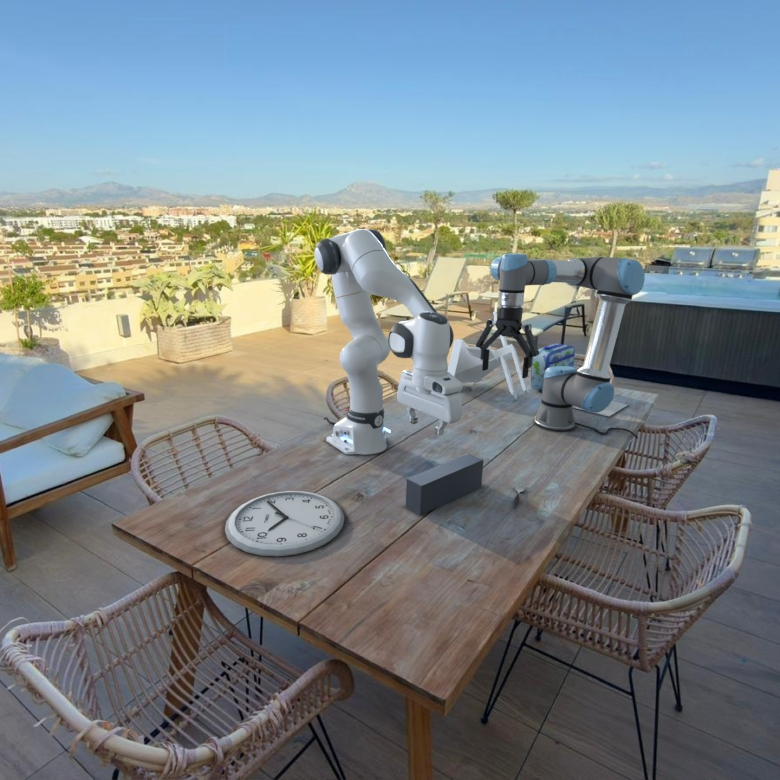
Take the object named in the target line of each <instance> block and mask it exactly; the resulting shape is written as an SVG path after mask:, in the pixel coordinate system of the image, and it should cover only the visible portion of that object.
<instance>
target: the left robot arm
mask: <svg viewBox="0 0 780 780" xmlns="http://www.w3.org/2000/svg"><path fill="white" fill-rule="evenodd" d="M313 253H314V254H313V255H314V262H315V265H316V266H317V269H318V270H319V271H320V272H321V273H323V275H328V276H329V275H330V276H331V283H332V290H333V294H334V298H335V303H336V306H337V310H338V314H339V317H340V318H339V319H340V321H341V323H342V324H343V325H344V326H345V327H346V329H347V330H348V331H349V333H350V336H351V338H352V340H350V341H349V342H348V343H346V344H345V345H344V347H343V348H342V349H341V351H340V353H339V363H340V366H341V367H342V369H343V371H345V373H346V376H347V380H348V385H349V406H348V407H344V412H347V413H346V416H344V417H343V418H341V419H338V421H337V422H334V421H332V420H331V421H330V419H329V417H327V416H325V417H323V420H324V421H325V420H326V422H327V423H328V424H330V425H333V428H332V433H331V434H329V435H328V436H327V437H326V438H325V441H326V442H327V443H328V444H330V446H333V447H334V448H336V449H337V450H339V451H340V452H342V453H343V454H345V455H347V456H348V455H350V456H352V455H363V456H365V455H366V456H367V455H376V454H379V453H382V452H384V451H386V449H387V447H388V445H387V444H388V443H387V436H386V434H385V432H387V433H389V434H391V433H392V432H391V429H389V428H387V427H385V423H384V422H385V421H384V419H385V408H384V405H383V403H384V401H383V400H384V386H383V384H382V382H380V378H379V373H378V372H379V371H378V369H379V368H378V367H379V365H380V364H382V363H383V362H384V361H386V359H388V357H389V355H390V353H391V352H392V354H393V355H394V356H395V357H397V358H401V359H411V360H412V361H413V363H412V371H410V370H408V369H405V370H403V371H401V372H400V378H399V379H400V380H399V382H398V386H397V387H398V388H397V393H396V399H397V401H398V403H399V404H400V405H403V406H405V407H406V412H407V414H408V417H409V420H408V421H409V422H408V423H410V424H413V425H415V424H418V423H419V416H417V415H416V411H417V412H420V413H422V414H425V415H427V416H430V417H432V418H434V419H437V420H438V424H439V425H438V426H436V427H434V434H435V435H437V436H439V437H440V436H443V435H444V432H445V428H446V426H447V425H449V424H450V425H451V424H455V423H457V422H459V421H460V420H461V419H462V414H463V396H462V394H461V391H462V390H463V384H464V383H461V382H460V381H459V380H458V379H456V378H455V377H454V376H453V375H452V374H451V373H450V372H448V366H449V363H448V356H449V353H450V349H451V347H452V346H453V344H454V339H455V338H454V337H455V336H454V331H453V327H452V325H451V324H450V321H449V319H448V318H447V317H446V316H445V315H443V314H441V313H439V312H438V311H437V310H436V308H434V306H433V305H432V303H431V302H430V300H429V299H428V298H427V297H426V295H425V294H424V292H423V291H422V290H421V289H420V287H419V286H418V285H417V283H416V282H415V281H414V280H413V279H412V278H411V277H410V276H408V274H406V273H404V272H403V271H402V270H401V269H400V268H399V267H398V266H397V265H396V264H395V262H394V261H393V260H392V259H391V257H390V255H389V254H388V252H387V246H386V241H385V238H384V236H383V234H382V233H381V231H379V230H378V229H374V228H373V229H372V228H368V229H367V228H366V229H365V228H358V229H355V230H353V231H348V232H345V233H342V234H338V235H335V236H332V237H329V238H327V237H326V238H324V239H323V238H322V239H321V240H319V241H318V242H316V244H315V246H314V250H313ZM371 295H373V296H375V297H376V296H377V297H382V298H387V299H390V300H394V301H396V302H399V303H401V304H402V305H403V306H404V307H406V309H407V310H408V312H409V313H410V315H412V317H413V318H411V319H408V320H403V321H399V322H396V323H394V324H393V325H392V327H391V328H390V329H389V332H388V336H387V335H386V334H385V333H384V331H383V329H382V327H381V324H380V322H379V320H378V317H377V316H376V313H375V310H374V305H373V301H372V298H371Z"/></svg>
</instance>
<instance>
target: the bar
mask: <svg viewBox="0 0 780 780" xmlns="http://www.w3.org/2000/svg"><path fill="white" fill-rule="evenodd" d="M483 472H484V459H483V458H481V457H478V456H476V455H473V454H471V453H465V454H464V455H462V456H459V457H457V458H454V459H452V460H451V459H450V460H449V461H446V462H444V463H442V464H439V465H437V466H434V467H431V468H429V469H427V470H424V471H422V472H419V473H417V474H415V475H411V476H409V477H407V478H406V484H405V485H406V486H405V487H406V489H405V491H406V492H405V508H406V509H409V510H410V511H412V512H414V513H416V514H417V515H419V516H422V515H424V514H426V513H428V512H431V511H433V510H435V509H437V508H439V507H441V506H443V505H445V504H447V503H449V502H451V501H454V500H455V499H457V498H460V497H462V496H464V495H466V494H468V493H470V492H473V491H476V490H477V489H479V488H481V487H482V485H483Z"/></svg>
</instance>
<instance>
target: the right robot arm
mask: <svg viewBox="0 0 780 780" xmlns="http://www.w3.org/2000/svg"><path fill="white" fill-rule="evenodd" d="M643 267H644V266H643V265H642V263H641V262H640V261H638V260H637V259H633V258H627V257H608V256H591V257H573V258H570V259H569V260H563V259H543V258H528V255H527V254H526V253H504V254H503V255H501V256H498V257H496V258H495V259H494V260H492V261H491V264H490V275H491V276H492V278H493V279H494V280H498V281H499V284H498V285H499V286H498V287H499V288H498V298H497V305H498V307H497V311H496V313H497V321H495V319H494V318H491V319H487V320H486V324H485V328H484V329H483V331H482V333H481V335H480V336H479V338H478V340H477V342H476V343H475V346H476V347H479V348H480V349H481V359H482V360H483V365H482V370H483V371H485V370H487V369H488V363H489V349H487V348H488V347H489V346H490V347H491V345H492V344H493V343H494V342H495V341H496V340H497V339H498V338H500V335H502V336H505V337H507V338H513V339H514V340H515V341H516V342H517V344H518V346H519V347H520V348H521V350H522V351H523V353H524V355H525V356H524V357H523V363H522V371H523V373H522V378H525V379H527V378H528V377H529V369H531V368H532V361H533V357H535V356H537V355H539V350H538V349H539V348H538V345H537V342H536V339H535V337H534V334H533V329H532V328H533V327H532V324H531V323H527V324H523V323H522V321H523V311H524V310H523V307H522V306H524V301H525V300H524V299H525V289H526V287H527V286H545V285H550V284H552V283H565V284H567V285H569V286H573V287H574V286H575V287H582V288H585V289H589V290H594V291H596V294H595V295H596V297H597V299H598V305H597V309H596V313H595V316H594V320H593V325H592V328H591V333H590V336H589V341H588V345H587V348H586V353H585V356H584V360H583V364H582V366H581V367H580V368H578V369H577V367H574V366H573V367H569V366H555V367H549V368H547V369H546V370H545V375H544V378H543V379H544V380H543V390H541V391H542V392H541V402H540V405H539V407H538V410H537V411H536V413H535V415H534V417H533V418H534V424H535V425H536V426H537V427H539V428H542V429H544V430H549V431H556V432H567V431H572V430H574V429H575V428H576V426H580V427H583V428H586V429H590V430H593V431H595V432H597V434H599V435H607V434H609V432H610V431H612V430H613V431H624V432H628V433H629V434H631V435H632V436H634V438H635V439H639V437H638V435H637V434H636V433H634V432H633V431H632V430H630V429H628V428H624V427H608V428H607V429H606V431H600V430H599V429H597V428H596V427H592V426H590V425H586V424H582V423H579V422H576V418H575V417H576V416H575V413H574V407H579V408H581V409H583V410H582V411H584V410H585V411H584V412H588V411H590V412H589V413H592V412H594V413H593V414H596V413H597V412H601V411H603V410H604V409H605V408H606V407H608V405H609V404H610V403H611V401H613V399H614V396H615V387H614V385H613V384H612V383H611V379H612V377H611V375H610V373H609V368H610V365H611V361H612V357H613V353H614V349H615V345H616V342H617V338H618V333H619V330H620V327H621V323H622V319H623V315H624V311H625V308H626V305H627V304H628V303H630V302H632V300H633V296H636V295H638V294H639V293H640V292H641V291H642V290H643V287H644V284H645V279H646V277H645V276H646V275H645V270H644V268H643ZM493 327H494V328H496V330H495V331H494V333H493V334H492V335H491V336H490V337H489V335H490V332H491V331H492V330H493ZM521 330H522V331H523V332H524V335H525V338H526V340H527V341H526V340H525V338H524V337H523V334H522V333H521ZM488 337H489V338H488ZM487 338H488V339H487Z"/></svg>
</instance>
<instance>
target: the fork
mask: <svg viewBox="0 0 780 780" xmlns="http://www.w3.org/2000/svg"><path fill="white" fill-rule="evenodd" d="M516 480H517V481H516V486H515V488H514V489H515V491H516V492H517V494H516V496H515V498H514V506H513V509H514V510H516V507H517V506H518V503H519V502H520V493H523V492H525V490H526V482H524V479H522V480H521V478H520V479H516Z"/></svg>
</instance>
